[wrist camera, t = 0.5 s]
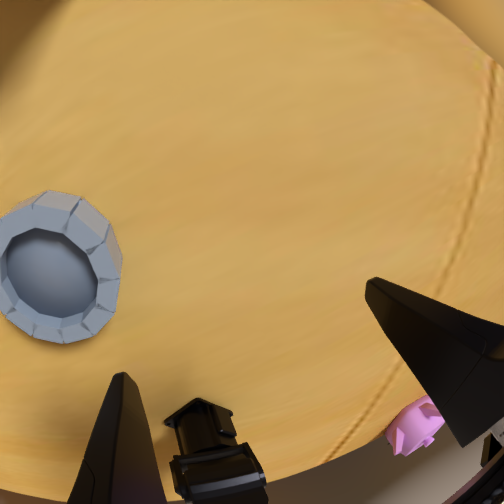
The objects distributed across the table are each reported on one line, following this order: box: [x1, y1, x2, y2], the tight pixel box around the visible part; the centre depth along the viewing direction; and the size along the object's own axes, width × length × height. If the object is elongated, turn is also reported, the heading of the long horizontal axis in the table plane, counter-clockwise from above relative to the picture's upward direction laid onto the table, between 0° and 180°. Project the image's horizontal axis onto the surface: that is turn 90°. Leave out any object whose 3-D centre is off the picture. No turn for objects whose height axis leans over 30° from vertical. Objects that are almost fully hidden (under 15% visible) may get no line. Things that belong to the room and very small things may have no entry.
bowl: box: [0, 190, 122, 344], centre depth 18 cm, size 11×11×4 cm
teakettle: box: [385, 395, 445, 456], centre depth 59 cm, size 17×17×12 cm
